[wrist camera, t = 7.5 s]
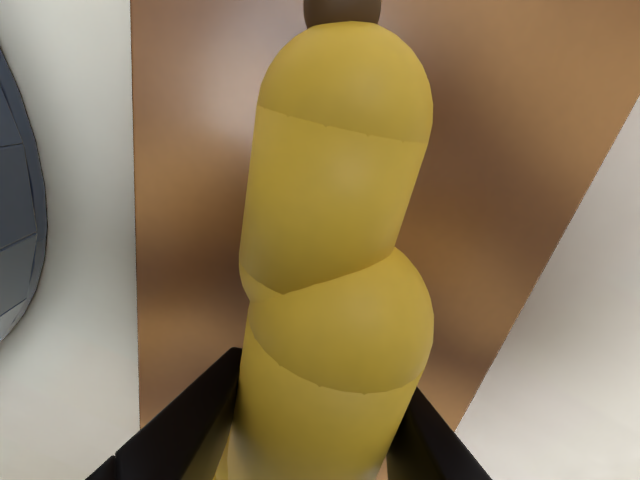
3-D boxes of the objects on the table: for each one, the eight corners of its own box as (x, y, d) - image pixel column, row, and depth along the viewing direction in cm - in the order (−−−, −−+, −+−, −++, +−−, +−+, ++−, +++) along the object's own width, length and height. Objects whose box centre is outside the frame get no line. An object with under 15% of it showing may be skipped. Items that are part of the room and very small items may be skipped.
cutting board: (402, 489, 16) (408, 518, 15) (153, 448, 15) (139, 475, 14) (651, 1, 8) (701, -14, 7) (155, -125, 7) (124, -164, 6)
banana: (325, 509, 13) (323, 661, 10) (218, 492, 13) (176, 641, 9) (502, 28, 6) (701, -48, 3) (289, -24, 6) (237, -173, 3)
